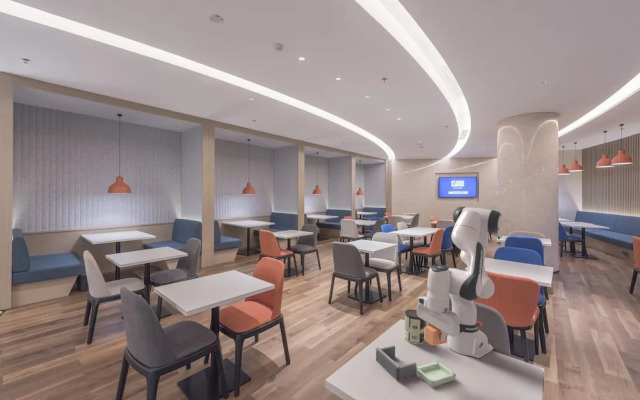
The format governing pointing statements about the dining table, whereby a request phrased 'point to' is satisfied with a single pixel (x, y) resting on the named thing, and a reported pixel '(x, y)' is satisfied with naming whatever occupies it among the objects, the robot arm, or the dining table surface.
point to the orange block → (433, 335)
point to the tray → (435, 374)
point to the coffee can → (414, 328)
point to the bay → (394, 364)
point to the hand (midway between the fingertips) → (436, 336)
